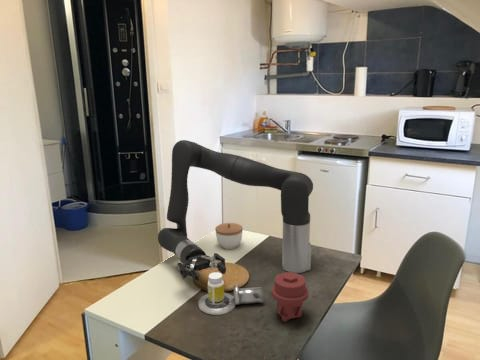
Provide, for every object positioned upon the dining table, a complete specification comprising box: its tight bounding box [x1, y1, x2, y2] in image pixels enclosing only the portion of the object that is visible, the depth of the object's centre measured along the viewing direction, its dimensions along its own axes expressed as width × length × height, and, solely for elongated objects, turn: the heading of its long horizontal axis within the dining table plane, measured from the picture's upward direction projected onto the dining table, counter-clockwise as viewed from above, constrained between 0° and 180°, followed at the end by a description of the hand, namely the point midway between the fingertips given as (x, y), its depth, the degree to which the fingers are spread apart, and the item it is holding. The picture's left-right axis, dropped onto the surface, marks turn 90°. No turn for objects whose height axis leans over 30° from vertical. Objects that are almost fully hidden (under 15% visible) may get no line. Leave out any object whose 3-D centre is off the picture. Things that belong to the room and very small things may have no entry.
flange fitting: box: [198, 284, 264, 316], centre depth 114 cm, size 19×11×6 cm, turn 95°
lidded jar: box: [214, 222, 243, 250], centre depth 153 cm, size 11×11×9 cm
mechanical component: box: [271, 271, 309, 322], centre depth 107 cm, size 12×10×10 cm
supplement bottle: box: [207, 271, 225, 305], centre depth 113 cm, size 5×5×8 cm
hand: (211, 274), depth 115 cm, fingers open, 8 cm apart
